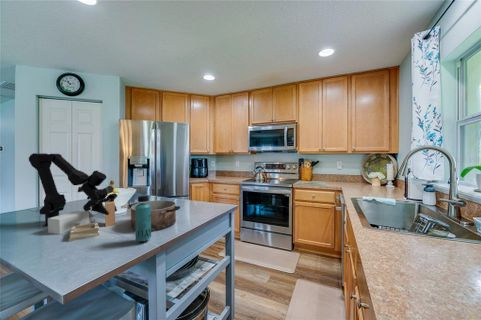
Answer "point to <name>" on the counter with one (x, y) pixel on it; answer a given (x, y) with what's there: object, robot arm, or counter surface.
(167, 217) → the cooking pot
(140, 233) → the beverage bottle
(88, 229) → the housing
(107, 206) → the block
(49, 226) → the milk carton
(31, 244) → the counter surface
